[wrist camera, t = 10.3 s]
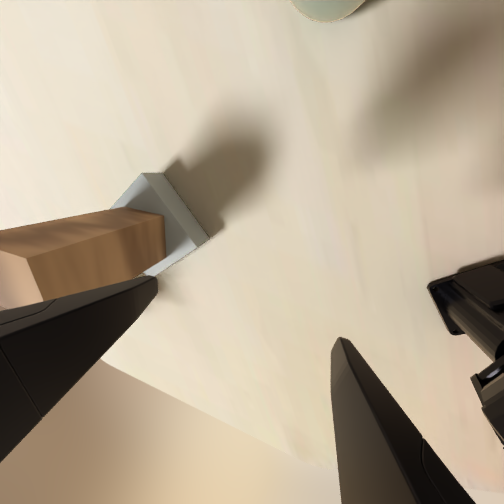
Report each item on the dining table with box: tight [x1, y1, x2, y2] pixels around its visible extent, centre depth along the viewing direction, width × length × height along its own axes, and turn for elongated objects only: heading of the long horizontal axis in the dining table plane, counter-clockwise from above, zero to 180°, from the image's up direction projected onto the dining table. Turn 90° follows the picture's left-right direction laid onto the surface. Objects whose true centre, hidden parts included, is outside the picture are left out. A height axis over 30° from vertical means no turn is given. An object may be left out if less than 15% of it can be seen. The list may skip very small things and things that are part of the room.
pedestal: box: [110, 173, 210, 276], centre depth 23 cm, size 9×9×3 cm
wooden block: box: [0, 207, 167, 309], centre depth 16 cm, size 5×5×11 cm
